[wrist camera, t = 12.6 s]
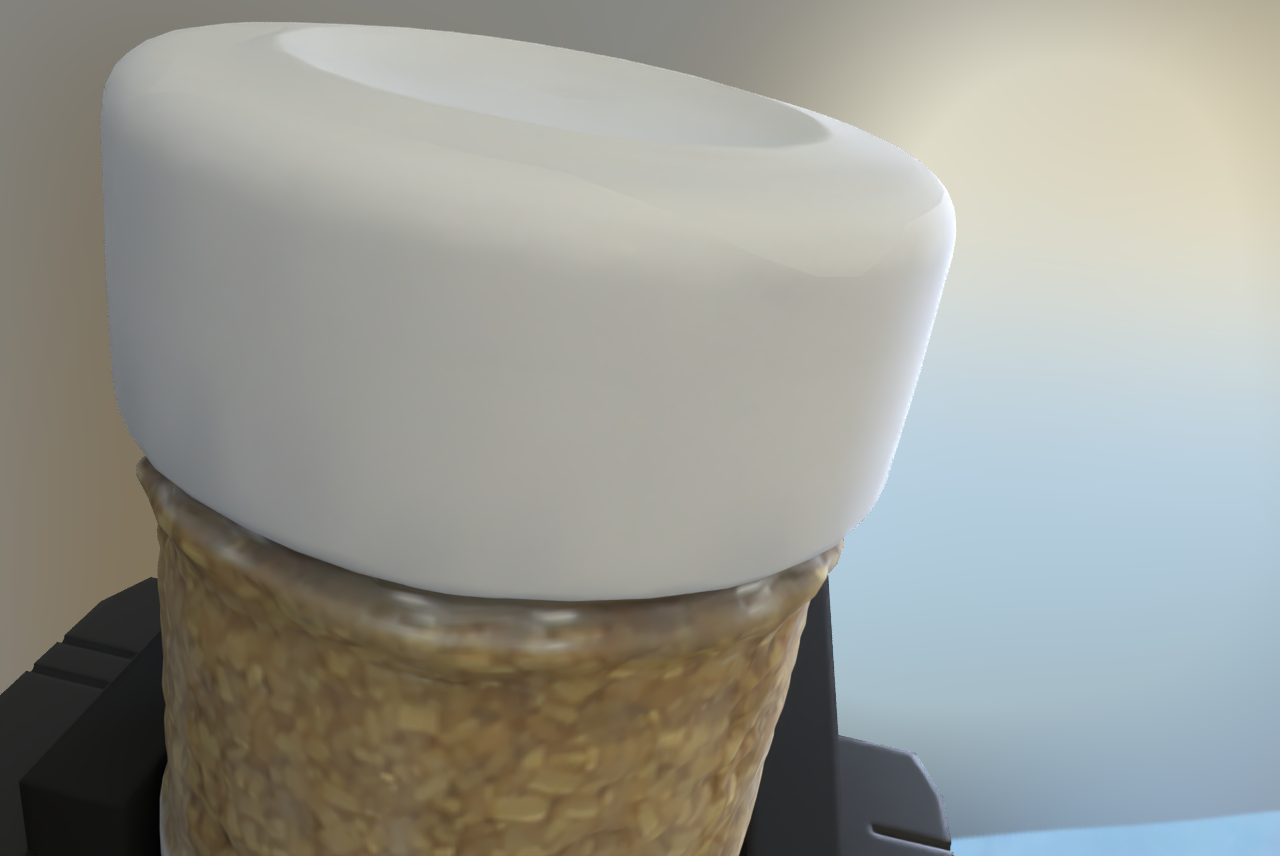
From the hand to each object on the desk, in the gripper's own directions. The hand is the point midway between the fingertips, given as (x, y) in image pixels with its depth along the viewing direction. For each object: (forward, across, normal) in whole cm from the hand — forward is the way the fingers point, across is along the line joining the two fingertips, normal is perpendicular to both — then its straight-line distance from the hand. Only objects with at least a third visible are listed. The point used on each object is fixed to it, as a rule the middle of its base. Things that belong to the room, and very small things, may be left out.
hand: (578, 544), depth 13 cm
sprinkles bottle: (-5, 0, -7) cm, 9 cm away
